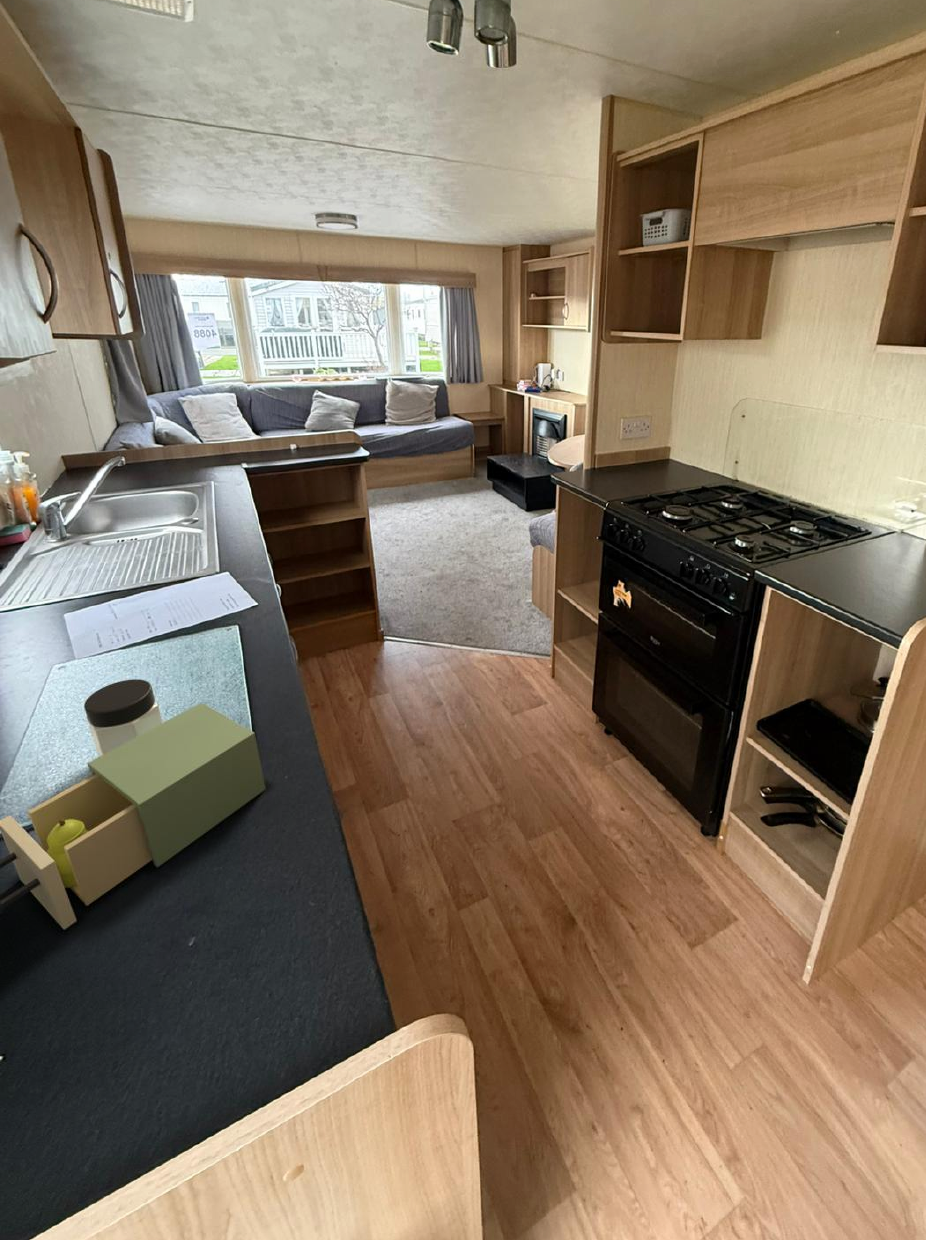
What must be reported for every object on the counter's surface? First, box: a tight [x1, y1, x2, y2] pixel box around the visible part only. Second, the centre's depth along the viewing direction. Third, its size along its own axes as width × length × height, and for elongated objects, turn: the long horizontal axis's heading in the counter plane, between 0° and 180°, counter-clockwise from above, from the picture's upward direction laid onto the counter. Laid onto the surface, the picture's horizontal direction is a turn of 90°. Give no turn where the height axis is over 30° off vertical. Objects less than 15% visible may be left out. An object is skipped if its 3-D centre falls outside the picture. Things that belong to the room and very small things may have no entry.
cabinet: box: [87, 702, 266, 868], centre depth 76 cm, size 15×13×11 cm
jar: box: [83, 678, 164, 757], centre depth 84 cm, size 9×8×12 cm
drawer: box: [0, 774, 153, 930], centre depth 66 cm, size 18×11×9 cm, turn 148°
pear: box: [47, 819, 89, 889], centre depth 66 cm, size 5×5×8 cm
